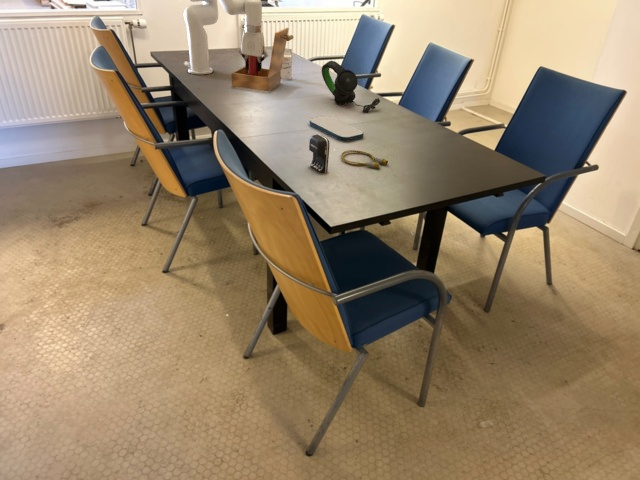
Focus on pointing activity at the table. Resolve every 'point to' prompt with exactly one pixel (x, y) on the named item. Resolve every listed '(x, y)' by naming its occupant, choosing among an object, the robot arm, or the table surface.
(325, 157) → the battery charger
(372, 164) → the extension cord
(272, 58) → the tea box lid
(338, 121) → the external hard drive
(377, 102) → the headset
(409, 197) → the table surface
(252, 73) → the tea tin
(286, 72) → the ink cartridge box
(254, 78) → the tea box
